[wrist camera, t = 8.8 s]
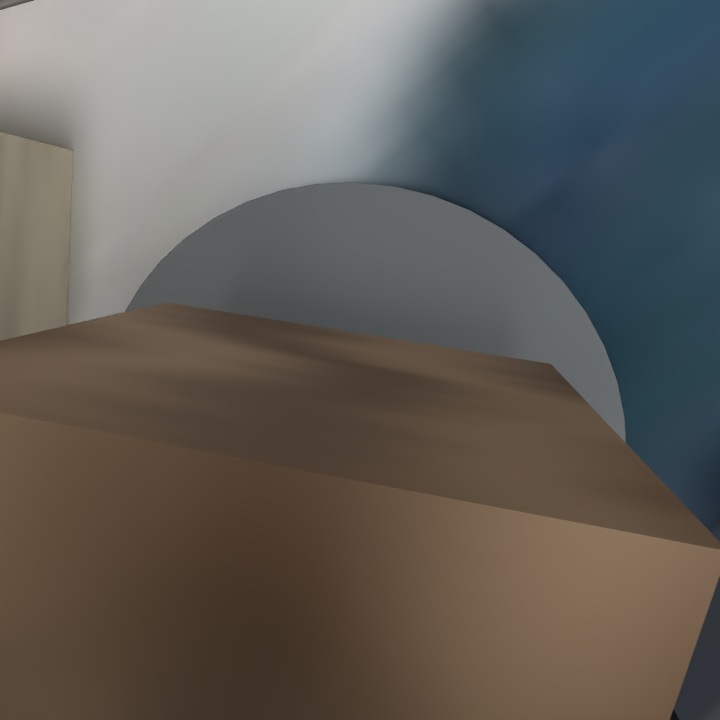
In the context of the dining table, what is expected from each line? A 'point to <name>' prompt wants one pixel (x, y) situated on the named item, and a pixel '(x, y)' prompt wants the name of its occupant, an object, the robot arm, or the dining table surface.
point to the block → (326, 532)
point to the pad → (388, 279)
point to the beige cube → (34, 235)
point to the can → (11, 3)
